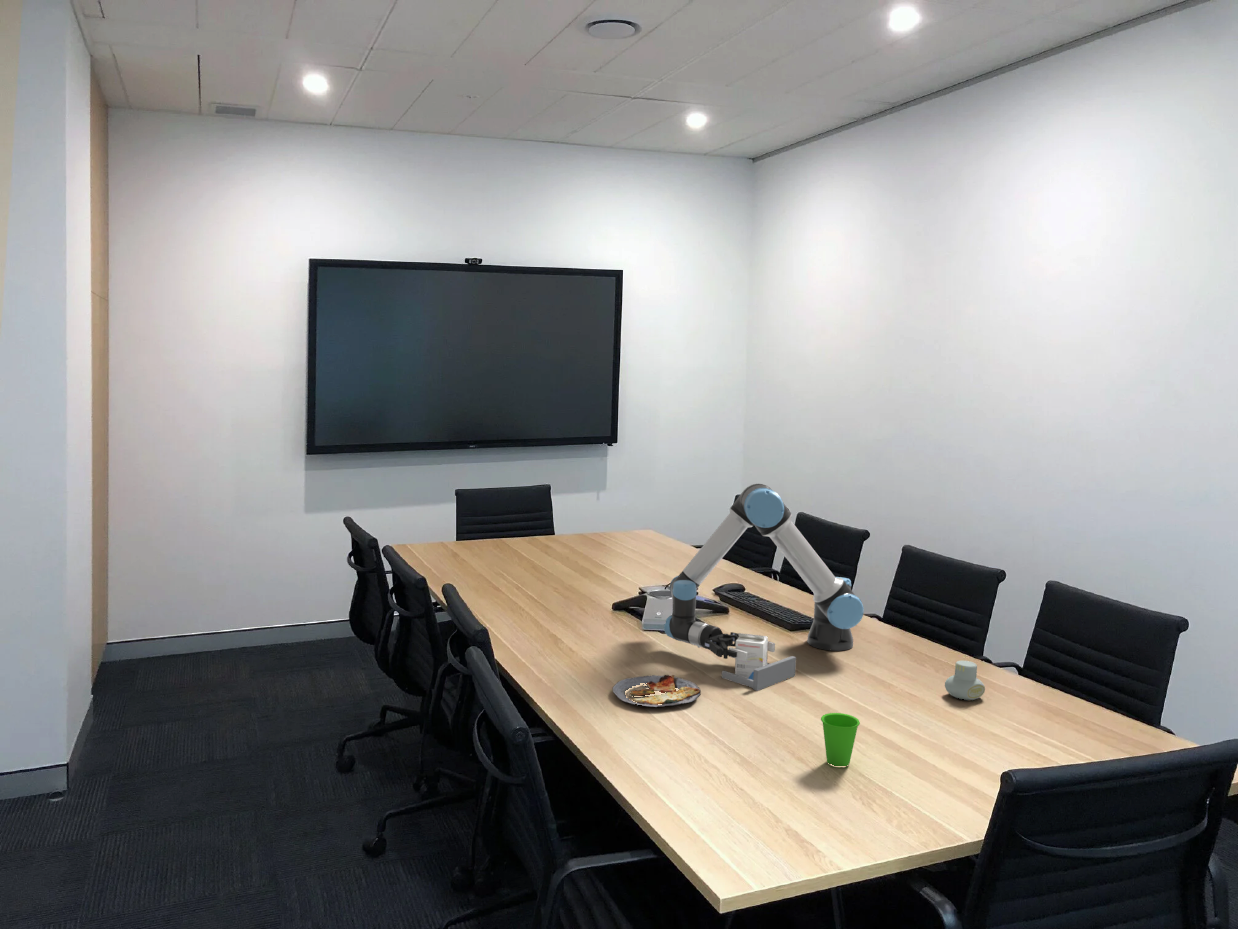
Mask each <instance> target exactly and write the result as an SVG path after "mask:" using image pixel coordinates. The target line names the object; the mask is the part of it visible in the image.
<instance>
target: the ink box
mask: <svg viewBox="0 0 1238 929" xmlns="http://www.w3.org/2000/svg"><path fill="white" fill-rule="evenodd" d="M737 633H738V632H737ZM738 635H739V637H738V639H737V640H736V647H735V649H738V650H741V651H745V652H748V657H747V661H746V662H745V661H742V660H738V659H735V658H734V660H735V662H734V666H735V667H734V674H736V675H739V676H742V677H745V678H749V679H752V680H753V678H754V669H757V668H760V667H763V666H765V665H767V663H768V652H769V651H768V641H769V637H768V636H766V635H761V634H759V635H758V634H750V633H743V632H742V633H741V632H739V633H738Z"/></svg>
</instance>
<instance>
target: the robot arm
mask: <svg viewBox="0 0 1238 929" xmlns="http://www.w3.org/2000/svg"><path fill="white" fill-rule="evenodd" d="M754 526H755V528H756V530H757V531H758V532H759V533H760V535H761V536H762V537H769V538H770V539H771V541H772V542H773V543H774V545H775V546H776V547H777V548H778V550H779V551H780V553H782V555H783V556H784V557H785V559H786V560H787V561H788V562H789V564H790V565H791V566H792V567H793V569H794V570H795V572H797V574H798V575H799V577H801V579H802V580H803V582H804V583H805V584H806V585H807V587H808V588H809V590H811V592H813V598H812V599H813V602H814V607H813V621H812V624H811V626H810V629H809V631H808V634H807V645H809V646H811V647H813V648H816V649H819V650H823V651H836V652H837V651H838V652H840V651H849V650H850V649H852V648H853V647H854V637H853V634H852V630H851V629H852V628H854V627H856V626H857V625H858V624H859V623H860V622H861V621H862V620H863V618H864V613H865V609H864V604H863V602H862V600H861V599H860V598H859V596H857V595H856V594H855V593H854V591H853V590H852V581H851V579H850V578H847V577H841V576H840V577H839V576H835V575H834V574H833V572H832V571H831V570H830V569H829V567H828V566H827V565H826V563H825V562H824V561H823V560H822V558H821V557H820V556H819V555H818V553H817V552H816V550H814V548H813V547H812V545H811V544H810V543H809V542H808V540H807V539H806V538H805V537H804V535H803V534H802V532H801V531H800V530H799V529H798V528H797V526H796V525H795V524H794V522H793V521H792V512H791V511H790V510H789V509H788V507H787V505H785V503H784V502H783V499H782V497H781V496H780V495H779V493H777V491H775V490H773V489H772V488H771V487H769V486H768V485H765V484H763V483H754V484H750V485H749V486H747V487H746V488H744V489H743V491H742V492H741V493H740V495H739V496H738V497H737V498H736V500H735V501H734V502H733V504H732V505H731V506H730V508H729V514H727V516H726V517H725V519H724V520H723V521H722V522H721V523H720V525H719V526H718V527H717V529H715V531H714V532H713V533H712V534H711V536H710V537H709V538H708V539H707V540H706V542H704V544H703V546H702V547H701V548H700V549H699V550H698V551H697V553H696V554H695V555H694V556H693V557H692V558H691V560H690V561H689V562H688V563H687V565H686V566H685V567H684V568H683V570H682V571H681V572H680V573H679V574H678V575H676V576H675V577H673V578H672V580H671V581H670V584H669V592H670V595H671V600H672V613H671V615H669V616H668V617H667V618H666V620H665V624H664V625H663V628H664V633H665V635H666V636H667V637H668V638H672V639H674V640H675V641H679V642H682V643H687V644H690V645H692V646H697V648H699V649H700V648H703V649H705V650H708V651H710V652H711V653H713V655H716V656H717V657H718V658H722V657H723V659H725V660H727V659H728V657H729V658H732V659H734V660H735V659H738V660H742V661H745V662H746V661H747V657H748V652H745V651H741V650H738V649H735V648H736V640H737V639H738V637H739V635H738V632H734V631H732V632H730V633H724V632H723V630H722V629H721V628H720V627H718V626H715V625H711V624H708V623H705V622H701V621H697V620H696V607H697V594H698V593H697V589H698V588H699V587H700V585H701V584H702V583H703V582H704V581H705V580H706V578H707V577H708V576H709V575H710V573H711V572H712V571H713V570H714V569H715V567H716V566H717V565H718V564H719V563H720V562H721V560H722V559H724V557H725V555H726V554H727V553H728V552H729V551H730V550H731V549H732V547H733V546H734V545H735V543H737V541H739V539H740V537H741V536H742V535H743V534H744V533H745V532H746V530H748V528H752V527H754ZM734 647H735V648H734ZM775 648H776V643H775V642H772V641H769V640H768V651H767V652H771V653H775V652H776V651H775V650H776V649H775Z"/></svg>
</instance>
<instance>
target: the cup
mask: <svg viewBox="0 0 1238 929" xmlns="http://www.w3.org/2000/svg"><path fill="white" fill-rule="evenodd" d="M820 720H821V722H822V729H823V738H824V747H825V756H826V757H825V758H826V762H827V764H828V763H829V764H832V765H834V766H847V765H848V766H849V765H850V762H851V758H852V753H853V749H854V744H855V740H856V735H857V731H858V726H859V725H860V724H861V723H860V722H861V721H860V719H858V718H857V717H855V716H853V715H851V714H847V713H841V712H830V713H829V712H828V713H825V714H823V715H822V716H821V718H820ZM829 764H828V765H829Z"/></svg>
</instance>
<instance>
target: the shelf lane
mask: <svg viewBox="0 0 1238 929" xmlns="http://www.w3.org/2000/svg"><path fill="white" fill-rule="evenodd" d="M796 664H797V657H796V656H793V655H791V656H788V657H785V658H782V659H780V660H777V661H774V662H771V663H769V662H767V665H765V666H763V667H760V668H757V669H754V678H753V680H752V679H749V678H745V677H742V676H739V675H736V674H735V673H732V672H730V671H726V670H722V671H721V678H722V679H723V680H728V681H729V682H732V683H733V682H734V683H735V684H739V683H740V685H743V686H745V685H746V687H748V686H749V688H752V690H753V691H756V692H758V691H761V690H763V689H766V688H768V686H769V687H771V686H773V685H776V684H779V683H782V682H783V680H784V681H787V680H788V679H787V678H789V679H791V678H790V677H792V678H794V676H795V677H796ZM786 679H787V680H786ZM781 681H782V682H781ZM778 682H779V683H778ZM775 683H776V684H775Z"/></svg>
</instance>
